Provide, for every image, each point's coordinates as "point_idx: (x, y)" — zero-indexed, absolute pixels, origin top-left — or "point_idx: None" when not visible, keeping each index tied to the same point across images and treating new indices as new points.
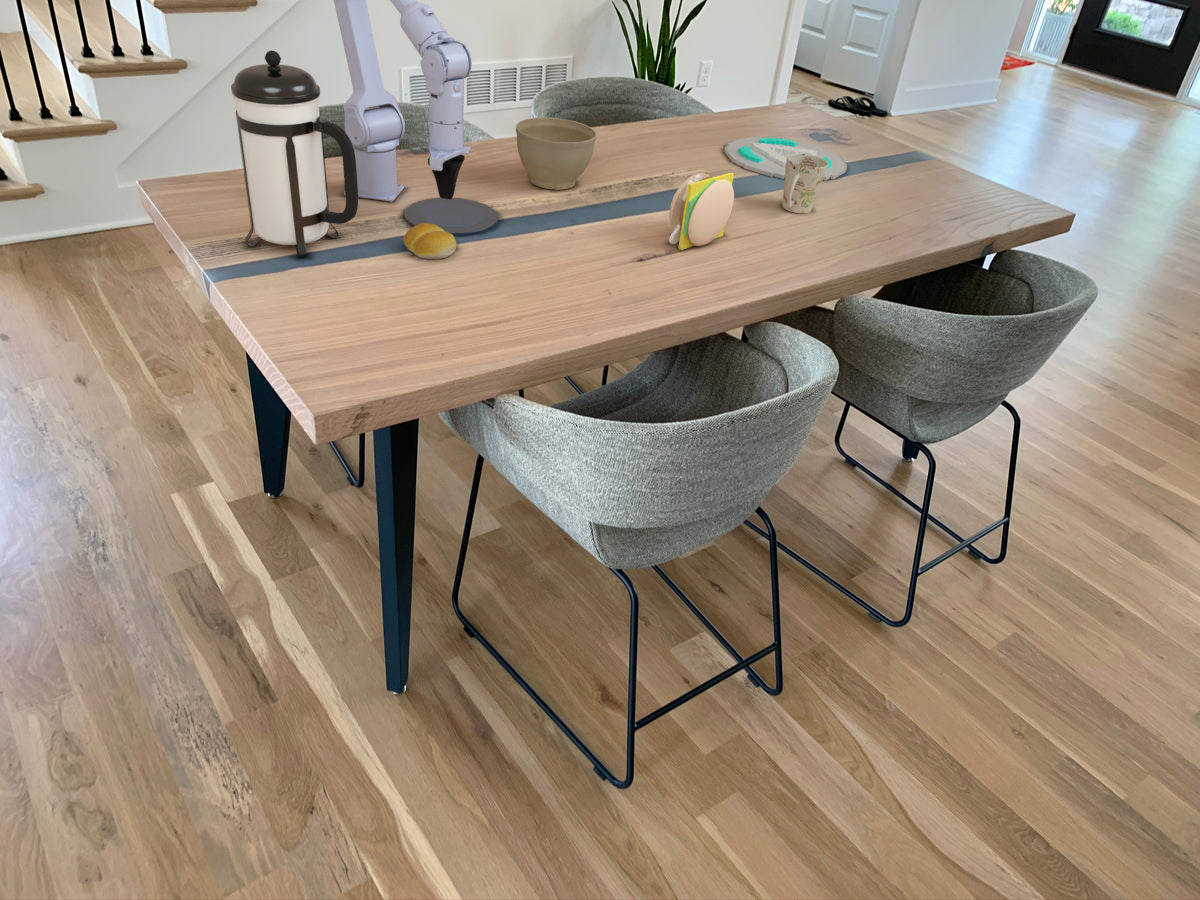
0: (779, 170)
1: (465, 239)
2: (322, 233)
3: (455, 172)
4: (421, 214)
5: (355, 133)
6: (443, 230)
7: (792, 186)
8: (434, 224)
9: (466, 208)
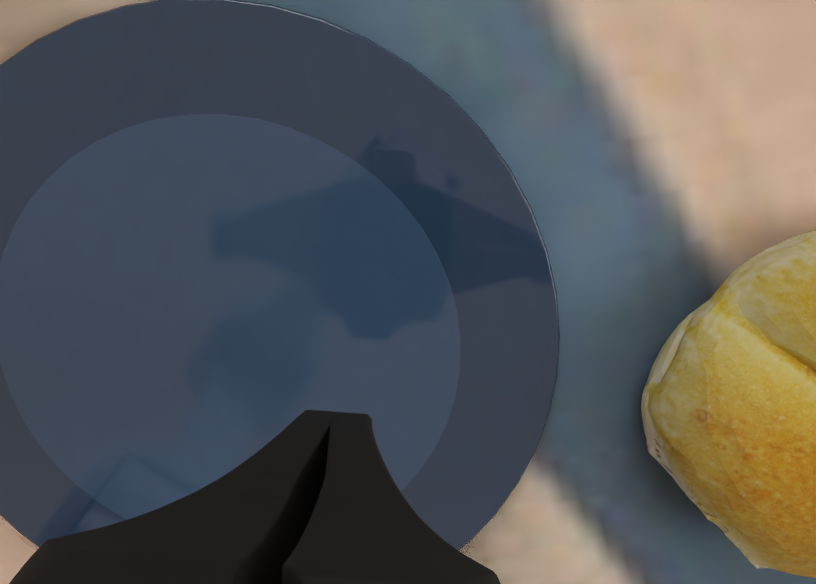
0: None
1: (596, 192)
2: None
3: (465, 557)
4: None
5: None
6: (742, 359)
7: None
8: (752, 441)
9: (74, 274)
